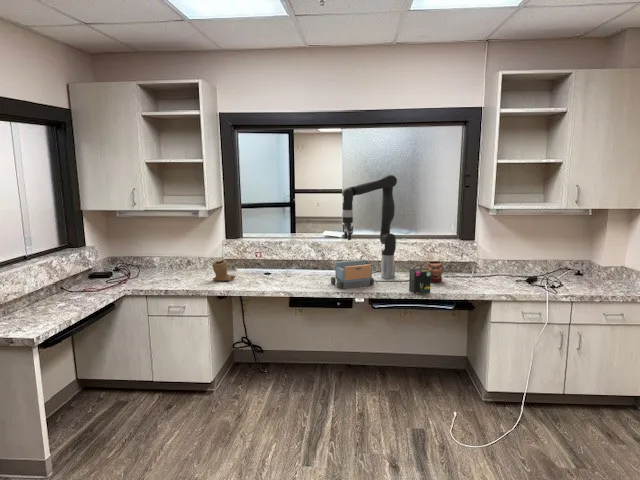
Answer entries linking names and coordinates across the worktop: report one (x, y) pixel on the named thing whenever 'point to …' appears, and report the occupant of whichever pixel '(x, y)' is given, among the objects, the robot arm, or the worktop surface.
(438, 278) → the decorative planter
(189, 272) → the worktop surface
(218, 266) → the brown boot
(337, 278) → the pickup bed
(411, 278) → the tampon box
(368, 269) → the panel
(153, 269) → the worktop surface
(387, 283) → the worktop surface
